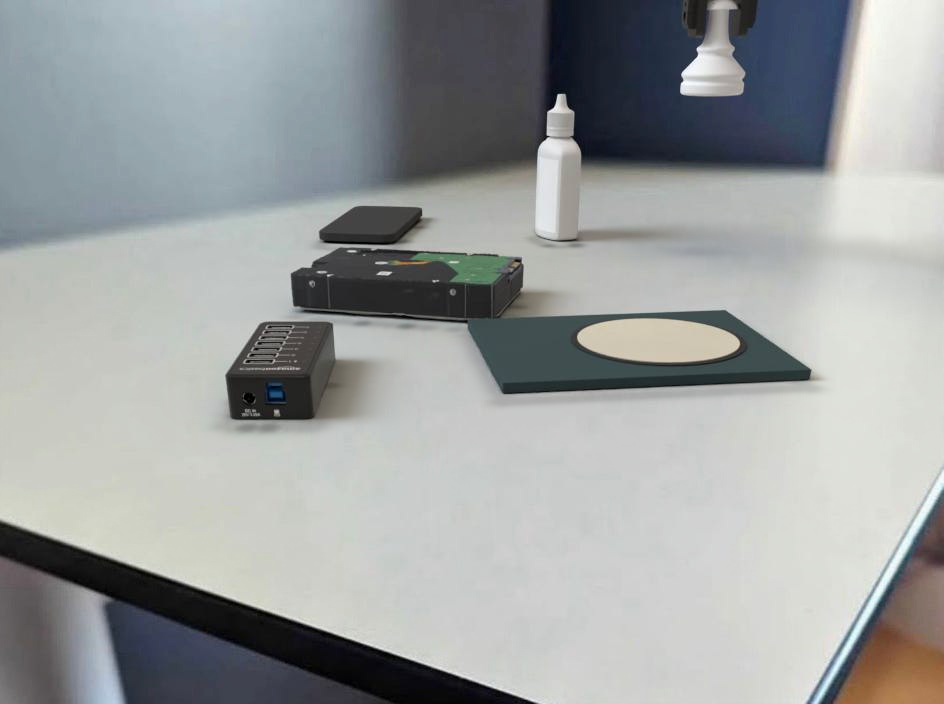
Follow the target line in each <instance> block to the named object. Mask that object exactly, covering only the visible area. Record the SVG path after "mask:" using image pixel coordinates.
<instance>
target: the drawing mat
mask: <svg viewBox="0 0 944 704" xmlns="http://www.w3.org/2000/svg"><path fill="white" fill-rule="evenodd" d="M467 329H468V331H469V333H470V335H471V337H472V338H473V341H474V342H475V344H476V346H477V348H478V350H479V352H480V353H481V355H482V357H483V360H484V361H485V363H486V365H487V366H488V368H489V370H490V373H491V374H492V375H493V378H494V380H495V381H496V383H497V385H498V387H499V389H500V391H501V393H502V394H513V393H534V392H537V393H538V392H552V391H553V392H555V391H556V392H558V391H577V390H578V391H580V390H599V389H603V390H604V389H622V388H642V387H643V388H645V387H666V386H667V387H668V386H669V387H671V386H689V385H692V386H693V385H711V384H713V385H714V384H733V383H754V382H755V383H757V382H758V383H759V382H776V381H777V382H779V381H781V382H782V381H801V380H802V381H803V380H810V379H811V373H812V369H811V368H810V367H809V366H807V365H806V364H805V363H803V362H802V361H800V360H799V359H797V358H796V357H794V356H793V355H791V354H790V353H789V352H787V351H786V350H784V349H782V347H780V346H778V345H777V344H775V343H774V342H772V340H769V338H767V337H765V336H764V335H763V334H761V333H759V332H758V331H757V330H755V329H753V328H752V327H751V326H749V325H748V324H746V323H745V322H744V321H742V320H741V319H739V318H737V317H736V316H735V315H734V314H732V313H730V312H729V311H728V310H727V309H716V310H715V309H714V310H686V311H666V312H665V311H661V312H659V311H658V312H633V313H632V312H631V313H604V314H578V315H576V314H573V315H551V316H550V315H547V316H546V315H545V316H526V317H525V316H522V317H521V316H519V317H497V318H496V317H495V318H491V319H487V318H486V319H468V320H467Z"/></svg>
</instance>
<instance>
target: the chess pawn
mask: <svg viewBox="0 0 944 704" xmlns="http://www.w3.org/2000/svg"><path fill="white" fill-rule="evenodd" d="M732 9H738V6H737V4H736V3H735V2H734V1H733V0H708V2H707V11H709V13H708V20H707V25H706V29H705V33H704V37H703V41H702V42H701V44H700V45H699V46H697V48H696V52H697V57H696V58H694V59H693V61H691V63H690V64H688V66H687V67H685V69H684V70H683V71H681V78H682V80H683V81H682V82H681V83H680V89H679V90H680V91H679V92H680V94H681V95H683V96H688V97H689V96H690V97H732V96H733V97H734V96H740V95H742V94H743V93H744V90H745V82H744V81H743V79H744V78H745V76H746V71H745V70H744V68H743V67H742V66H741V65H740V64H739V62H738V61H737V60H736V59H735V57H734V56H733V54H734V51H735V48H736V47H735V46H734V45H733V44H732V43H731V41H730V31H729V27H730V23H729V20H730V19H729V18H730V10H732Z"/></svg>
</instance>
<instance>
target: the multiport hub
mask: <svg viewBox="0 0 944 704" xmlns="http://www.w3.org/2000/svg"><path fill="white" fill-rule="evenodd" d="M334 333H335V332H334V323H332V322H330V321H262V322H260V323H259V324H258V325H257V327H256V328H255V330H254V332H253V333H252V334H251V336H250V337H249V339H248V340H247V342H246V343H245V345H244V347H243V348H242V349H241V351H240V352H239V354H238V355H237V357H236V358H235V360H234V361H233V362H232V364H231V366H230V367H229V368H228V370H227V371H226V373H225V386H226V393H227V402H228V409H229V417H230V418H231V419H234V420H309V419H312V418H314V417H315V415H316V412H317V410H318V407H319V404H320V401H321V399H322V397H323V394H324V392H325V389H326V386H327V384H328V381H329V378H330V376H331V373H332V370H333V369H334V366H335V362H336V349H335V334H334Z"/></svg>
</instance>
